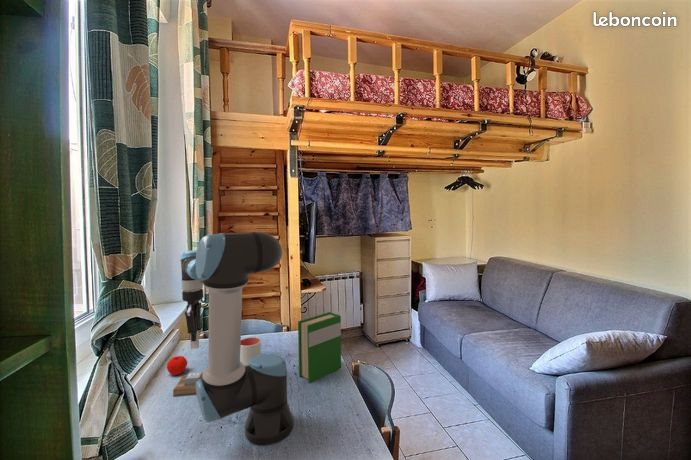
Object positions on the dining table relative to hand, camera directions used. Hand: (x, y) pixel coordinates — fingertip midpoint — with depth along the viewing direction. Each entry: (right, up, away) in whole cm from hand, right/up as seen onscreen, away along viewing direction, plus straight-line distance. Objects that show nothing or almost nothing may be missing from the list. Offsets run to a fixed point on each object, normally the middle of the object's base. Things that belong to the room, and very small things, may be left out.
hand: (194, 347), depth 125 cm
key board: (+7, -16, +2) cm, 18 cm away
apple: (-13, -16, +12) cm, 24 cm away
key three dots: (-1, -15, +1) cm, 15 cm away
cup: (+16, -15, +22) cm, 31 cm away
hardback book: (+49, -15, +12) cm, 53 cm away
